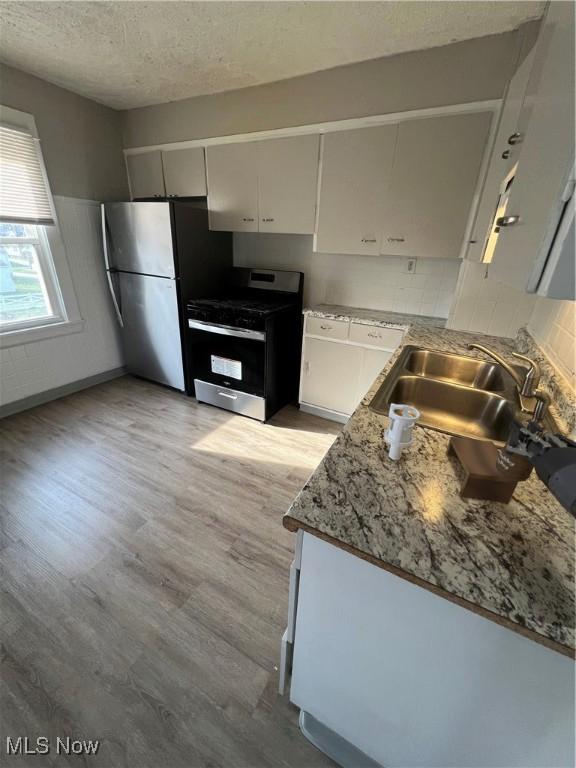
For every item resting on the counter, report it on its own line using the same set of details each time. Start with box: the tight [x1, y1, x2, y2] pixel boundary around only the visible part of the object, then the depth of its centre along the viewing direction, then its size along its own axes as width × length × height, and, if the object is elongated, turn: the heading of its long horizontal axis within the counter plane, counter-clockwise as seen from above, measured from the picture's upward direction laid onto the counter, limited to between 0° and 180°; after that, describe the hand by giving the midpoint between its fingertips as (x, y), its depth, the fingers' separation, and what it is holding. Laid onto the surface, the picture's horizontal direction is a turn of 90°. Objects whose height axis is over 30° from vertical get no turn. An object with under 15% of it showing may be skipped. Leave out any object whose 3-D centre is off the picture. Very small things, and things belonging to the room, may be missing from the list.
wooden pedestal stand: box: [445, 436, 520, 505], centre depth 75 cm, size 10×14×7 cm
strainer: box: [384, 402, 421, 461], centre depth 80 cm, size 7×7×15 cm
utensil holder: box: [496, 421, 545, 482], centre depth 62 cm, size 6×6×12 cm
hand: (521, 424), depth 63 cm, fingers closed on utensil holder, 2 cm apart
